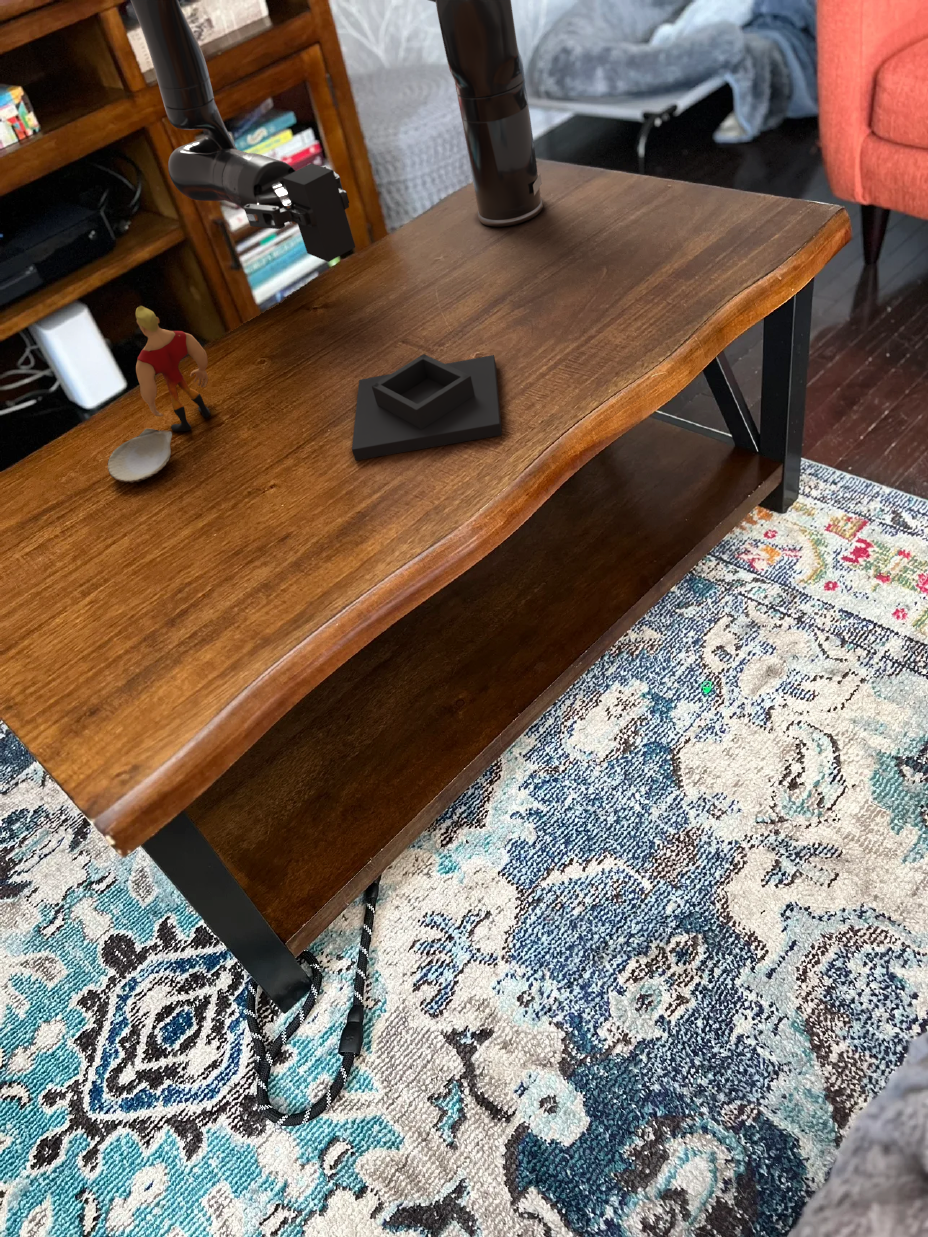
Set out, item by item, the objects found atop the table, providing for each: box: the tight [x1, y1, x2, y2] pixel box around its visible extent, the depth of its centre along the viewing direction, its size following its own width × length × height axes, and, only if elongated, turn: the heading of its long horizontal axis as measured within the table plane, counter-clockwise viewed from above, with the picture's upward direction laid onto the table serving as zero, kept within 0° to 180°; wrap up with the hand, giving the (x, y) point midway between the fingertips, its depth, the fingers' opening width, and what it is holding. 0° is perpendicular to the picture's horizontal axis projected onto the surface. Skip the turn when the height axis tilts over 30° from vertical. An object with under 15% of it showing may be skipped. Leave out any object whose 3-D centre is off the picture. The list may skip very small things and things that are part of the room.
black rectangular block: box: [283, 163, 356, 263], centre depth 123 cm, size 5×4×10 cm
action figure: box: [135, 305, 211, 432], centre depth 110 cm, size 10×4×15 cm, turn 139°
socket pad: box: [351, 353, 503, 461], centre depth 106 cm, size 14×16×4 cm
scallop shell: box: [106, 428, 173, 484], centre depth 109 cm, size 8×3×8 cm
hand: (329, 209), depth 121 cm, fingers closed on black rectangular block, 4 cm apart
